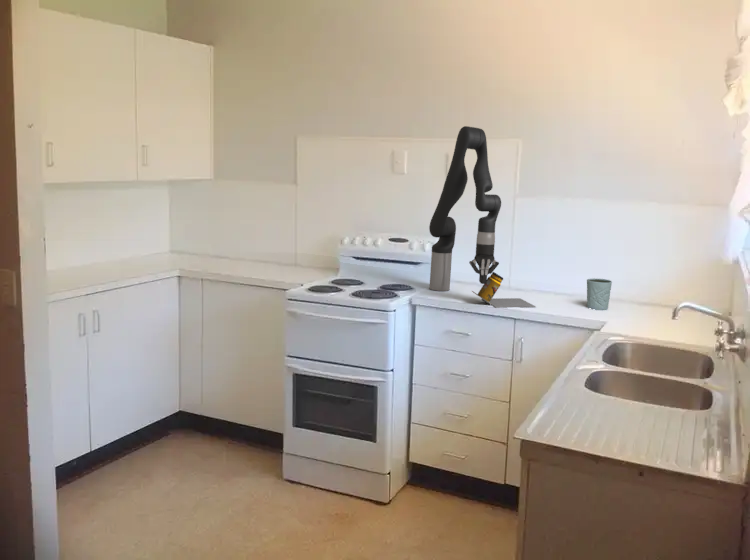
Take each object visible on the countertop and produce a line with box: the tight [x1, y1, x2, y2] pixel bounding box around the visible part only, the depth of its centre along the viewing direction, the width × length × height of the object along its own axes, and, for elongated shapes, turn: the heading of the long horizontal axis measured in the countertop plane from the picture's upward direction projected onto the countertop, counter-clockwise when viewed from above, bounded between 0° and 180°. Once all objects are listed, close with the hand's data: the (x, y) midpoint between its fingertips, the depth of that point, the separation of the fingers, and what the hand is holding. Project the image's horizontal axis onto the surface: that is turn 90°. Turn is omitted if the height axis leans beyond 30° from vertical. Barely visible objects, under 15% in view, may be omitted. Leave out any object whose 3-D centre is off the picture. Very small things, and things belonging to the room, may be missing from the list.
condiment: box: [471, 271, 504, 305], centre depth 319 cm, size 7×8×12 cm
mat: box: [481, 297, 537, 309], centre depth 323 cm, size 16×18×1 cm
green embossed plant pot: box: [586, 277, 613, 311], centre depth 320 cm, size 10×10×12 cm
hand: (482, 283), depth 318 cm, fingers closed
